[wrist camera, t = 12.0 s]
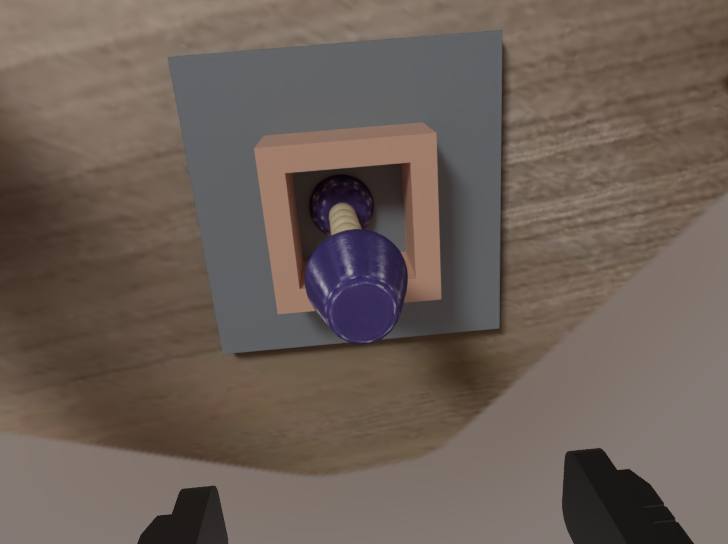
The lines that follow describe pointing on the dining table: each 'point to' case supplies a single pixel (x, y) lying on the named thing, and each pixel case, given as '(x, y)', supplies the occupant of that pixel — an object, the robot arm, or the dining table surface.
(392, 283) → the toy lamp
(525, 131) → the dining table surface
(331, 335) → the socket block
